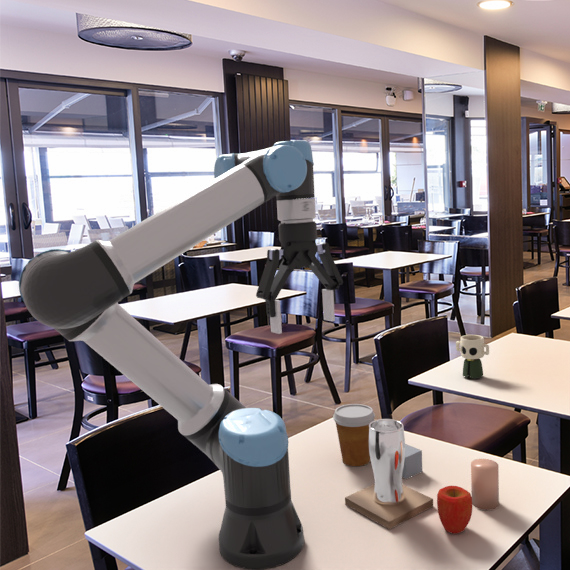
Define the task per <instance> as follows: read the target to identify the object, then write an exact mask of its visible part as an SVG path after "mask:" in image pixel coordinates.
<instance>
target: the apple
mask: <svg viewBox="0 0 570 570" xmlns="http://www.w3.org/2000/svg"><path fill="white" fill-rule="evenodd" d="M436 498H437V500H436V506H437V513H438V517H439V520H440V523H441V525H442V527H443V528H444V530H445V531H446V532H449V533H450V534H453V535H454V534H460V533H462V532H464V531H465V530H466V528H467V526H468V524H469V523H470V521H471V518H472V514H473V505H472V493H470V492H469V491H468V490H467V489H465V488H463V487H460V486H457V485H447V486H444V487H442V488H439V490H438V492H437V495H436Z"/></svg>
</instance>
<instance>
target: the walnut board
mask: <svg viewBox="0 0 570 570" xmlns="http://www.w3.org/2000/svg"><path fill="white" fill-rule="evenodd" d="M374 486H375V483H374V484H371V485H369V486H367V487H365V488H363V489H361V490H359V491H357V492H354V493H352V494H349V495H348V496H346V497H344V501H345V502H344V503H345V504H344V505H345V506H347V507H349V508H351V509H352V510H354V511H356V512H358V513H360V514H361V515H362V516H364V517H367V518H369V519H370V520H372V521H374V522H375V523H377V524H379V525H381V526H382V527H384V528H385V529H388V530H391V529H393V528H395V527H397V526H399V525H400V524H403V523H404V522H407V521H408V520H410V519H412V518H414V517H415V516H418V515H420V514H421V513H424V512H425V511H426V510H428V509H430V508H432V507H434V498H432V497H431V496H428V495H426V494H424V493H421V492H419V491H417V490H415V489H413V488H411V487H409V486H406V485H404V484H402V486H403V491H404V496H405V499H404V501H403V502H402V503H401V504H398V505H394V506H385V505H381V504H378V503H377V502H375V500H374V499H373V493H374Z"/></svg>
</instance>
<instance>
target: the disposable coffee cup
mask: <svg viewBox="0 0 570 570" xmlns="http://www.w3.org/2000/svg"><path fill="white" fill-rule="evenodd" d="M332 418H333V420H334V422H335V427H336V432H337V439H338V442H339V448H340V449H339V450H340V454H341V458H342V459H341V460H342V463H343V464H345V465H347V466H349V467H362V466H365V464H366V465H368V464H369V463H370V462H371V460H370V454H369V424H370V423H371V422H372V421H375V419H376V414H375V413H374V409H373V408H372V407H371V406H369V405H368V404H367V405H366V404H360V403H350V404H343V405H340V406H338V407H336V408H335V410H334V414H333V415H332ZM369 461H370V462H369Z"/></svg>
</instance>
